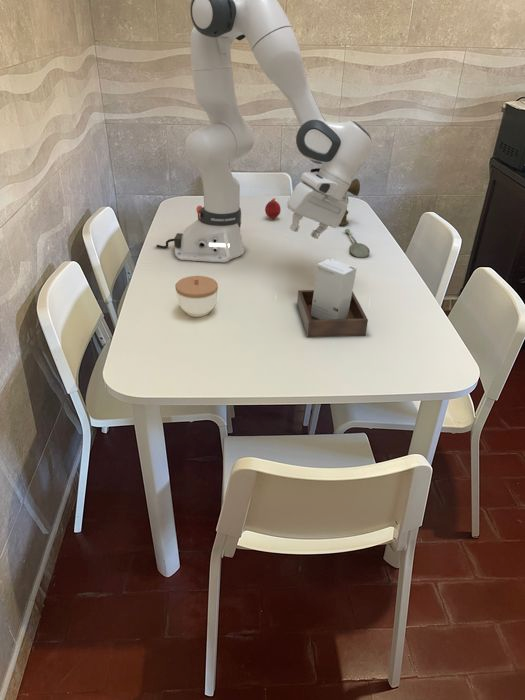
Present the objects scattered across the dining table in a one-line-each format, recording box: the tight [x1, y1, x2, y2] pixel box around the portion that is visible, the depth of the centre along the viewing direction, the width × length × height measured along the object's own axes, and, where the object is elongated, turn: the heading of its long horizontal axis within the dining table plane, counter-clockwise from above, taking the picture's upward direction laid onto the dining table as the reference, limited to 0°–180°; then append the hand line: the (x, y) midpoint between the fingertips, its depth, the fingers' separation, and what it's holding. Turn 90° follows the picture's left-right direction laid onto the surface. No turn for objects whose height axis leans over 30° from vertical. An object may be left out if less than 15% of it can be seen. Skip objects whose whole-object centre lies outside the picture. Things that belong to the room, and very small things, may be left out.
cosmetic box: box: [311, 257, 357, 320], centre depth 133 cm, size 8×6×15 cm
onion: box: [264, 197, 282, 220], centre depth 198 cm, size 6×6×8 cm
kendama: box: [339, 178, 361, 227], centre depth 192 cm, size 6×10×20 cm, turn 101°
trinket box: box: [175, 275, 219, 318], centre depth 136 cm, size 11×11×9 cm
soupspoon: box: [344, 228, 371, 259], centre depth 180 cm, size 22×3×7 cm
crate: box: [296, 289, 369, 338], centre depth 136 cm, size 15×17×4 cm
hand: (303, 234), depth 143 cm, fingers open, 8 cm apart
